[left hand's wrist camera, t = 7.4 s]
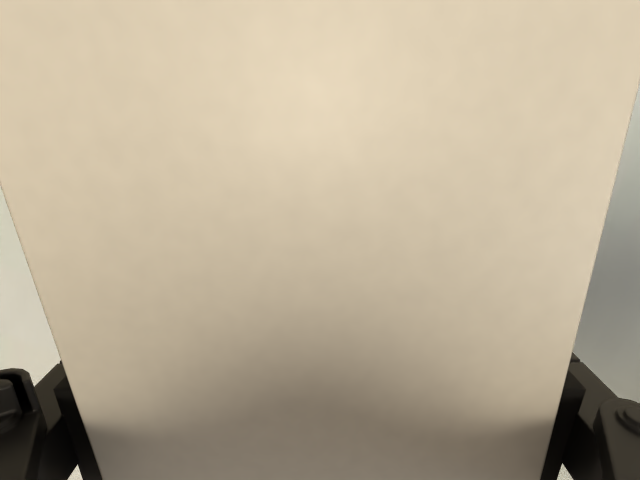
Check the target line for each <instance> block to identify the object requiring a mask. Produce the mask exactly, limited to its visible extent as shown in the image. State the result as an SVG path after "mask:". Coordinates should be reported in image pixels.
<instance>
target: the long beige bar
mask: <svg viewBox="0 0 640 480" xmlns="http://www.w3.org/2000/svg"><path fill="white" fill-rule="evenodd" d="M639 83H640V0H0V185H1V188H2V191H3V194H4V197H5V200H6V203H7V205H8V208H9V211H10V214H11V217H12V220H13V223H14V226H15V228H16V231H17V234H18V237H19V240H20V243H21V246H22V249H23V251H24V254H25V257H26V260H27V263H28V266H29V269H30V272H31V275H32V277H33V280H34V283H35V286H36V289H37V292H38V295H39V298H40V300H41V303H42V306H43V309H44V312H45V315H46V318H47V321H48V323H49V326H50V329H51V332H52V335H53V338H54V341H55V344H56V346H57V349H58V352H59V355H60V358H61V361H62V364H63V367H64V369H65V372H66V375H67V378H68V381H69V384H70V387H71V390H72V392H73V395H74V398H75V401H76V404H77V407H78V410H79V413H80V415H81V418H82V421H83V424H84V427H85V430H86V433H87V436H88V438H89V441H90V444H91V447H92V450H93V453H94V456H95V459H96V461H97V464H98V467H99V470H100V473H101V476H102V479H103V480H540V478H541V474H542V470H543V466H544V462H545V458H546V454H547V450H548V446H549V442H550V438H551V435H552V431H553V427H554V423H555V419H556V415H557V411H558V407H559V403H560V399H561V395H562V391H563V387H564V383H565V379H566V375H567V371H568V367H569V363H570V359H571V355H572V351H573V347H574V343H575V339H576V335H577V331H578V327H579V323H580V319H581V315H582V311H583V307H584V303H585V299H586V295H587V291H588V287H589V283H590V279H591V275H592V271H593V267H594V263H595V259H596V255H597V251H598V247H599V243H600V239H601V235H602V231H603V227H604V223H605V219H606V215H607V211H608V207H609V203H610V199H611V195H612V191H613V187H614V183H615V179H616V175H617V171H618V167H619V163H620V159H621V155H622V151H623V147H624V143H625V139H626V135H627V131H628V127H629V123H630V119H631V115H632V111H633V107H634V103H635V99H636V95H637V91H638V87H639Z"/></svg>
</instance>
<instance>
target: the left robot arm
mask: <svg viewBox="0 0 640 480" xmlns="http://www.w3.org/2000/svg"><path fill="white" fill-rule="evenodd" d="M562 463H563V464H564V466H565V467H566V469H567V470H568V472H569V473H570V475H571V476H572V478H573V480H640V403H637V402H634V401H632V400H627V399H622V398H618V397H617V396H616V395H615V394H614V393H613V392H612V391H611V390H610V389H609V388H608V387H607V386H606V385H605V384H604V383H603V382H602V381H601V380H600V379H599V378H598V377H597V376H596V375H595V374H594V373H593V372H592V371H591V370H590V369H589V368H588V367H587V366H586V365H585V364H584V363H583V362H580V359H579V358H578V357H577V356H576V355H575V354H574V353H573V352H572V355H571V359H570V363H569V367H568V371H567V375H566V379H565V383H564V387H563V391H562V395H561V399H560V403H559V407H558V411H557V415H556V419H555V423H554V427H553V431H552V435H551V438H550V442H549V446H548V450H547V454H546V458H545V462H544V466H543V470H542V474H541V478H540V480H557V477H558V474H559V471H560V468H561V465H562ZM77 464H78V466H79V469H80V472H81V475H82V478H83V480H103V479H102V476H101V473H100V470H99V467H98V464H97V461H96V459H95V456H94V453H93V450H92V447H91V444H90V441H89V438H88V436H87V433H86V430H85V427H84V424H83V421H82V418H81V415H80V413H79V410H78V407H77V404H76V401H75V398H74V395H73V392H72V390H71V387H70V384H69V381H68V378H67V375H66V372H65V369H64V367H63V364H62V361H60V364H57V365H56V366H55V367H54V368H53V369H52V370H51V371H50V372H49V373H48V374H47V375H46V376H45V377H44V378H43V379H42V380H41V381H40V382H39V383H38V384H37V385H36V386H35V387H34V386H33V383H32V380H31V377H30V374H29V373H28V372H27V371H25V370H23V369H15V368H10V369H4V370H0V480H67V479H68V478H69V476H70V475H71V473H72V472H73V470H74V469H75V467H76V466H77Z"/></svg>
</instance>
